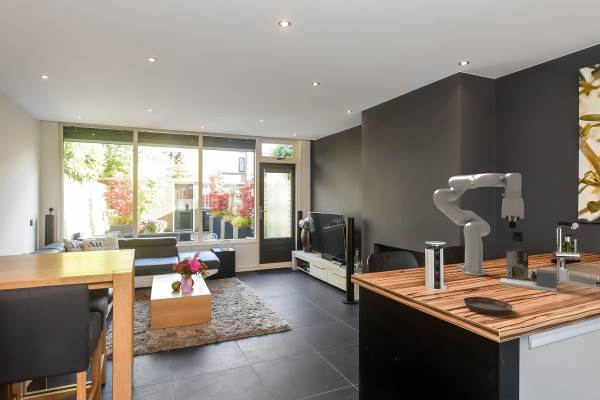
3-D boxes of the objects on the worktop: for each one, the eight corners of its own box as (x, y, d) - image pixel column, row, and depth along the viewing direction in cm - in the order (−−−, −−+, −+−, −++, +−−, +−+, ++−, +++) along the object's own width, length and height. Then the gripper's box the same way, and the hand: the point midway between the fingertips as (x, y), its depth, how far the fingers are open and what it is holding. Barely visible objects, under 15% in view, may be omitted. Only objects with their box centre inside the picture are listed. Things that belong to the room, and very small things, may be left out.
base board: (499, 284, 176) (499, 281, 176) (501, 280, 184) (501, 277, 184) (556, 292, 162) (556, 289, 162) (555, 287, 170) (555, 284, 170)
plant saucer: (479, 300, 148) (480, 294, 148) (521, 313, 133) (522, 305, 133) (453, 306, 140) (454, 299, 140) (495, 320, 124) (495, 312, 124)
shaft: (530, 281, 170) (530, 271, 170) (530, 279, 174) (530, 270, 174) (559, 285, 163) (559, 275, 163) (558, 283, 168) (558, 273, 168)
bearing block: (536, 285, 167) (536, 271, 167) (536, 282, 174) (536, 269, 174) (556, 288, 163) (556, 274, 163) (555, 285, 169) (555, 271, 169)
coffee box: (522, 276, 194) (522, 249, 194) (528, 279, 188) (529, 250, 188) (505, 276, 195) (506, 248, 195) (511, 278, 189) (512, 250, 189)
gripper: (496, 195, 184) (496, 228, 184) (529, 195, 175) (528, 230, 175) (497, 195, 190) (497, 227, 190) (529, 195, 181) (529, 229, 181)
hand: (512, 228), depth 183 cm, fingers closed
